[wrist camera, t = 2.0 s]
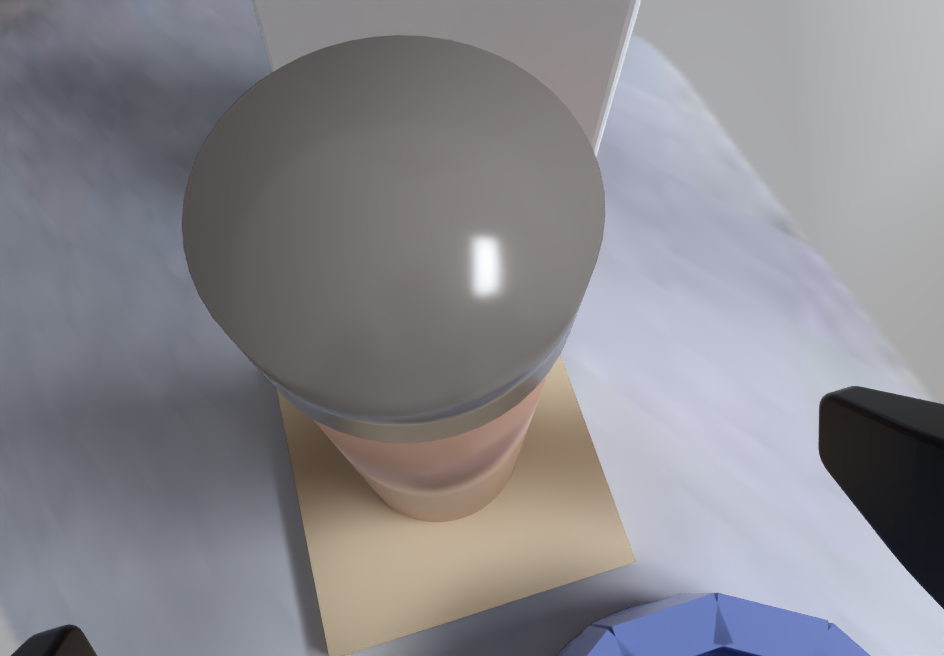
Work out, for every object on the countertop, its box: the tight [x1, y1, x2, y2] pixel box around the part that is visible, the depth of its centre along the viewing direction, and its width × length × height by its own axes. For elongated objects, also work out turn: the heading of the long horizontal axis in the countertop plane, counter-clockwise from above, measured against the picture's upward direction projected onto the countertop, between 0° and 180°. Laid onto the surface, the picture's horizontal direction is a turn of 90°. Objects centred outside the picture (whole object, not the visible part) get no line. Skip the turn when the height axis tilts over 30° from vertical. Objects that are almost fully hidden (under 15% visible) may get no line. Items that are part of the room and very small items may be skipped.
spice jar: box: [182, 35, 605, 522], centre depth 13 cm, size 5×5×12 cm
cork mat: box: [277, 355, 636, 656], centre depth 19 cm, size 8×8×1 cm
